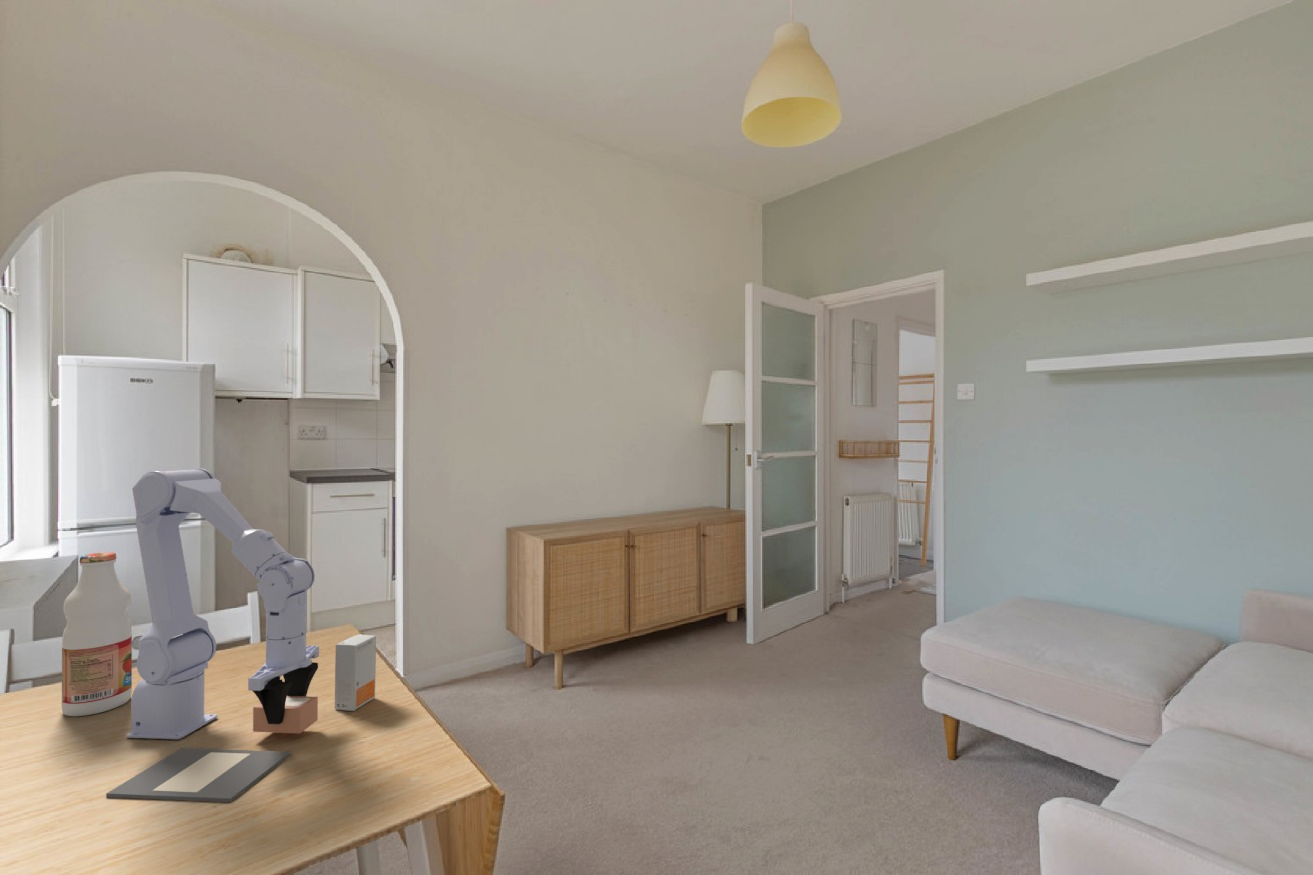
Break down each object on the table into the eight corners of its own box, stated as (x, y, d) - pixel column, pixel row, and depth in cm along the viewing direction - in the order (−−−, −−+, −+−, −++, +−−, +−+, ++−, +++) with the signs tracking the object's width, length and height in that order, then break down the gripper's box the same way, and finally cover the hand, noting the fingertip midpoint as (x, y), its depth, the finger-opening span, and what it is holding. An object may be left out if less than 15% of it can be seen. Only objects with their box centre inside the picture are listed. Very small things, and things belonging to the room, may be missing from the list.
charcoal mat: (106, 796, 81) (106, 792, 81) (181, 751, 93) (181, 747, 93) (230, 802, 80) (230, 798, 80) (290, 754, 92) (290, 751, 92)
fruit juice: (50, 711, 107) (51, 557, 107) (115, 691, 115) (115, 548, 115) (78, 721, 103) (78, 561, 103) (142, 699, 112) (143, 551, 112)
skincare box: (354, 712, 107) (354, 645, 107) (334, 709, 108) (334, 644, 108) (376, 697, 113) (377, 635, 113) (357, 695, 114) (357, 633, 114)
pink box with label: (253, 731, 97) (253, 706, 97) (272, 718, 101) (272, 694, 101) (300, 733, 96) (300, 708, 96) (317, 720, 101) (317, 696, 101)
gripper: (279, 650, 91) (278, 738, 91) (335, 621, 106) (335, 697, 106) (235, 649, 92) (234, 736, 92) (297, 620, 106) (297, 696, 106)
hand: (285, 715), depth 99 cm, fingers closed on pink box with label, 4 cm apart
